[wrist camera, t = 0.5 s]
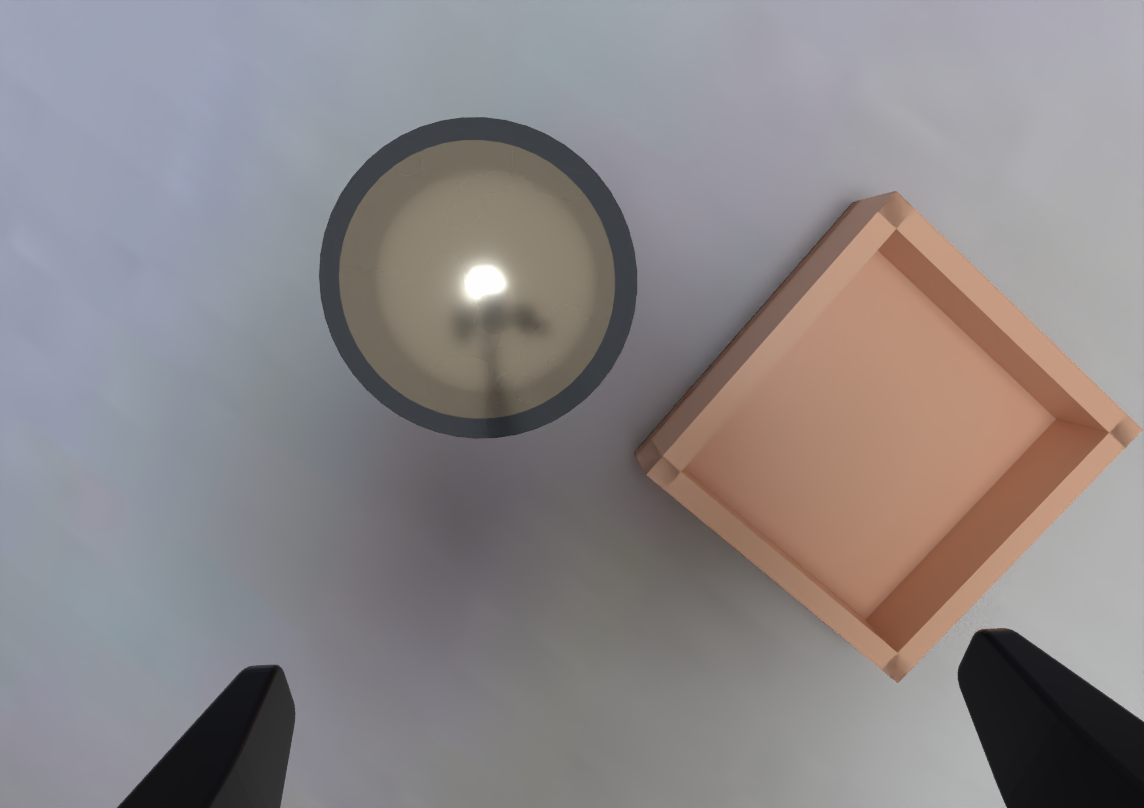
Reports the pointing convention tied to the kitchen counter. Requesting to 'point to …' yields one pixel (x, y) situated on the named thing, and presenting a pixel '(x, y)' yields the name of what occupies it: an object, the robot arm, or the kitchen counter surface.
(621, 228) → the dark grey cylinder
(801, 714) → the kitchen counter surface
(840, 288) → the terracotta bin
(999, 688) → the robot arm
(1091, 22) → the kitchen counter surface
